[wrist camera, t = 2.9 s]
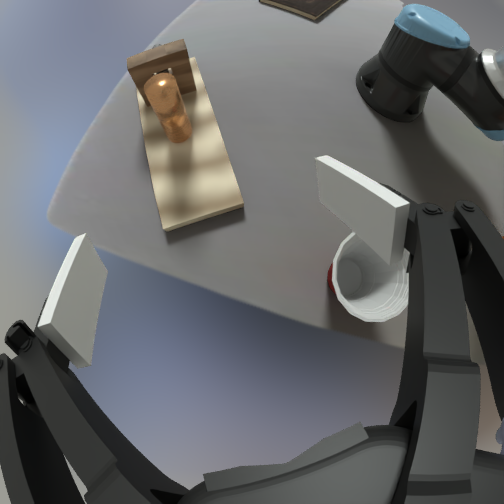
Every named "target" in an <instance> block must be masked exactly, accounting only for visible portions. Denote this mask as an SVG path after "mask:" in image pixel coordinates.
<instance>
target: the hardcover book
mask: <svg viewBox="0 0 504 504" xmlns="http://www.w3.org/2000/svg"><path fill="white" fill-rule="evenodd" d="M260 1H261V2H264V3H268V4H271V5H274V6H277V7H280V8H283V9H286V10H289V11H292V12H295V13H297V14H300V15H303V16H305V17H308V18H310V19H313V20H315V19H317V18H318V17H319V16H321V15H322V14H323V13H324V12H326V11H327V10H328V9H330V8H331V7H332V6H334V5H335V4H337V3H338V2H339V1H341V0H259V2H260Z"/></svg>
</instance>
